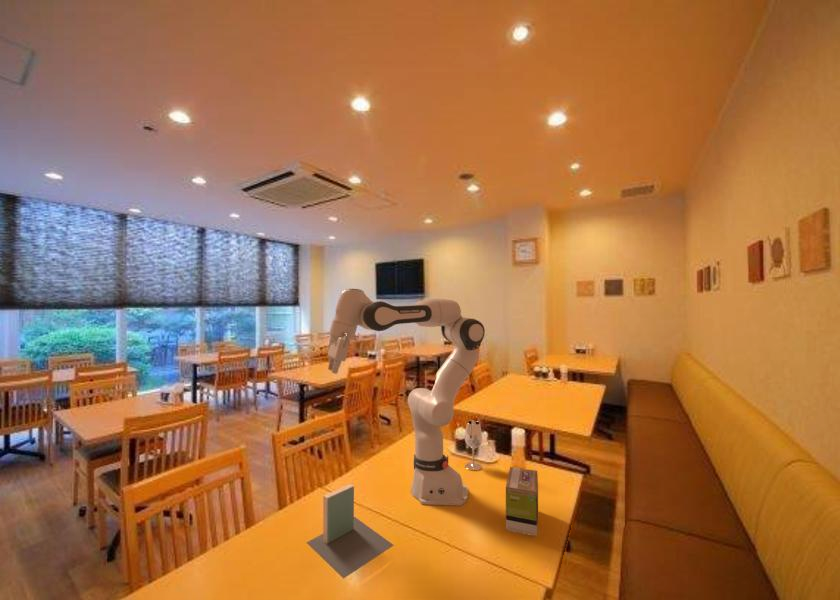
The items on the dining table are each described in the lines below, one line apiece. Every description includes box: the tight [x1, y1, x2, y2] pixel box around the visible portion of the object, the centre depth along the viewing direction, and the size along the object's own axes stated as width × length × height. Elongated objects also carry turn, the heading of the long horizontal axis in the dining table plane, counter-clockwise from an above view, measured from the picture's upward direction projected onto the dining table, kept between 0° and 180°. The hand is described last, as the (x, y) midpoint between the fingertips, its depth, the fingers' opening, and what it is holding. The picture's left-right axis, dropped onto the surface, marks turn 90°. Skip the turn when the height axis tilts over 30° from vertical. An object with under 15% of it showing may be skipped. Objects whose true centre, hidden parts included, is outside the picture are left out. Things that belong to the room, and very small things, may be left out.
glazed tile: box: [322, 483, 355, 544], centre depth 112 cm, size 2×10×14 cm, turn 136°
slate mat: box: [306, 516, 394, 579], centre depth 108 cm, size 20×18×1 cm
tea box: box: [505, 466, 539, 537], centre depth 121 cm, size 15×10×15 cm
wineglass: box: [464, 420, 483, 471], centre depth 160 cm, size 8×8×20 cm
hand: (332, 371), depth 122 cm, fingers open, 8 cm apart
